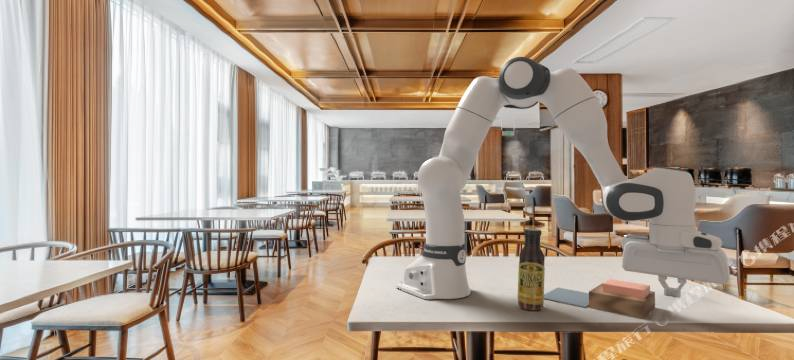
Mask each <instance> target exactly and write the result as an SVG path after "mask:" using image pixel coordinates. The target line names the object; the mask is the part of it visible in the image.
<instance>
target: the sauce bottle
mask: <svg viewBox="0 0 794 360" xmlns="http://www.w3.org/2000/svg"><path fill="white" fill-rule="evenodd" d="M523 234H524V243H523V245H524V246H523V247H522V249H521V251H520V252H519V255H518V256H519V258H518V259H519V263H518V271H517V273H518V276H517V277H518V278H517V306H518V307H519V308H521V309H523V310H527V311H540V310H542V309H543V307H544V303H545V301H544V300H545V299H544V294H545V272H546V271H545V270H546V269H545V259H546V258H545V253H544V252H543V250H542V249H541V236H542V230H541V229H538V228H524V229H523Z"/></svg>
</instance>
